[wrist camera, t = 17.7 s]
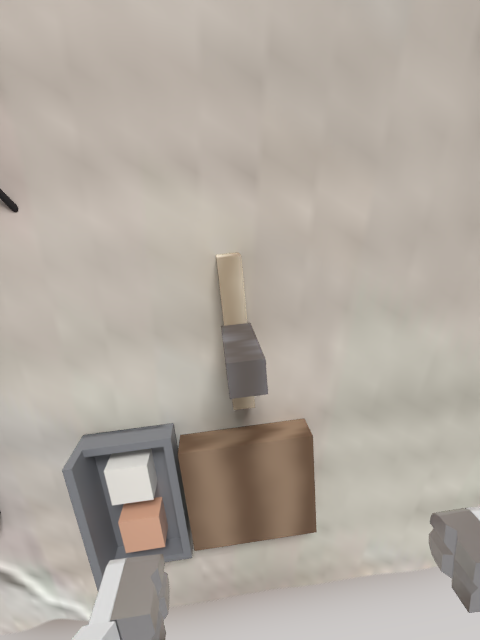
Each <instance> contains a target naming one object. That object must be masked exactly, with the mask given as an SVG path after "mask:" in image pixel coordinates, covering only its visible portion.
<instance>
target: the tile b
mask: <svg viewBox="0 0 480 640" xmlns="http://www.w3.org/2000/svg"><path fill="white" fill-rule="evenodd" d="M118 524H119V528H120V532H121V536H122V539H123V543H124V547H125V551H126V553H130V552H136V551H143V550H149V549H155V548H162V547H165V545H166V538H167V530H168V523H167V518H166V513H165V508H164V504H163V499H162V497H157V498H154V500H147V501H140V502H133V503H126V504H124V505H123V508H122V511H121V515H120V518H119V521H118Z"/></svg>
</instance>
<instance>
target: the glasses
mask: <svg viewBox="0 0 480 640" xmlns="http://www.w3.org/2000/svg"><path fill="white" fill-rule="evenodd" d="M0 199H1V200H2V201H3V202H4V203H5V204H6V205H7V206H8V207H9V208H10V209H11V210H12V211H14V212H17V211H18V207H17V205H16V204H15V203H14V202H13V201H12V200H11V199H10V198H9V197H8V196H7V195H6V194H5V193H4V192H3V191H2V190H1V189H0Z"/></svg>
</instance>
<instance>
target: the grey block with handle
mask: <svg viewBox="0 0 480 640" xmlns="http://www.w3.org/2000/svg"><path fill="white" fill-rule="evenodd" d="M216 260H217V269H218V278H219V286H220V295H221V304H222V313H223V322H224V326H221V327H222V336H223V345H224V353H225V362H226V370H227V378H228V387H229V395H230V399H232V401H233V409H234V410H240V409H248V408H255V401H254V396H257V395H265V394H268V387H267V374H266V361H265V357H264V354H263V352H262V350H261V347H260V345H259V342H258V340H257V338H256V335H255V333H254V330H253V328H252V326H251V323H247V313H246V302H245V291H244V280H243V269H242V258H241V255H240V254H239V253H229V254H219V255H216Z"/></svg>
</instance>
